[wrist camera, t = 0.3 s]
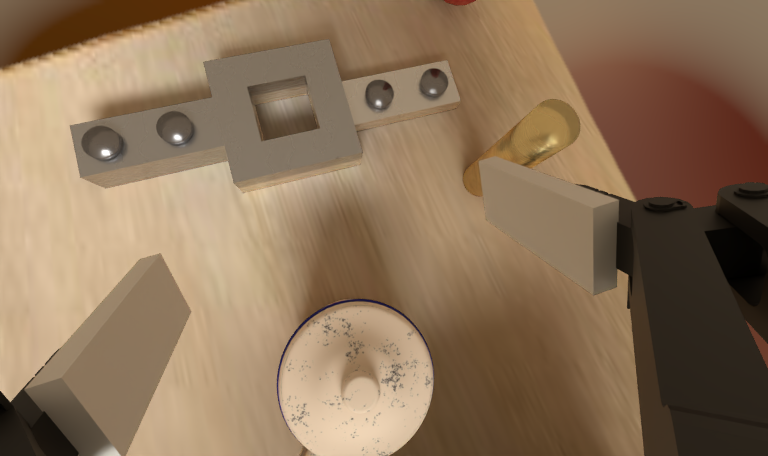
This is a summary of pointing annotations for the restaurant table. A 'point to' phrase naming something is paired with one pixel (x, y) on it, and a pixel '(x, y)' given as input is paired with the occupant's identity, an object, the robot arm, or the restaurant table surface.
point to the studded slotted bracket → (242, 127)
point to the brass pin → (531, 140)
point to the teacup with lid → (355, 380)
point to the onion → (459, 2)
